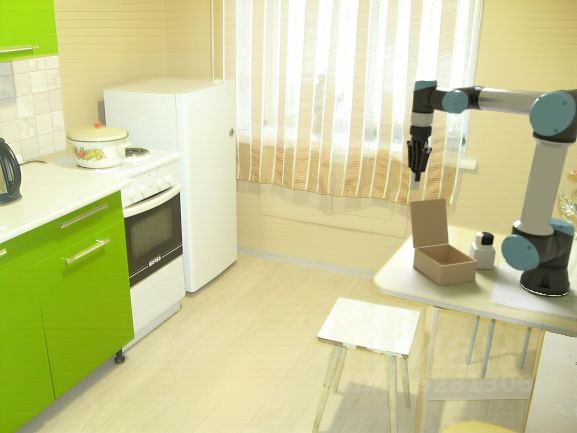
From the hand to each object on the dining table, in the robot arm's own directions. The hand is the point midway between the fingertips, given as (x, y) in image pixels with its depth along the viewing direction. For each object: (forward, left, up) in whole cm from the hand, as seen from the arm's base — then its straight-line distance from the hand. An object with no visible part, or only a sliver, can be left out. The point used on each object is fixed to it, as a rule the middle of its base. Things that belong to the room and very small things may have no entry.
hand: (414, 189), depth 220 cm
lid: (-12, 0, -9) cm, 15 cm away
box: (-22, 0, -23) cm, 32 cm away
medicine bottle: (-20, -17, -24) cm, 36 cm away
